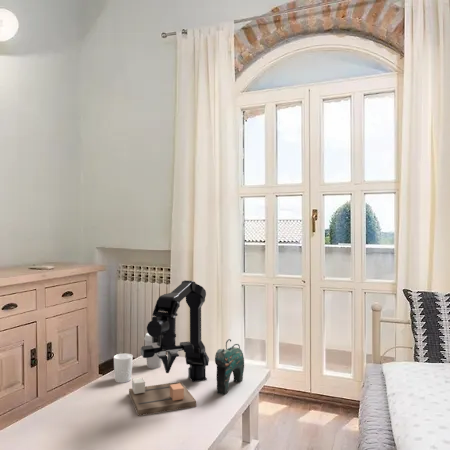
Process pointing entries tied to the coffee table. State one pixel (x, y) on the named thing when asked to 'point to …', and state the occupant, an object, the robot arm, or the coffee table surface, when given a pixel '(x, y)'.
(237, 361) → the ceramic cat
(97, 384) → the coffee table surface
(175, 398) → the block
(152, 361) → the coffee cup
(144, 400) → the fader panel
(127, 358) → the white cup
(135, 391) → the block
